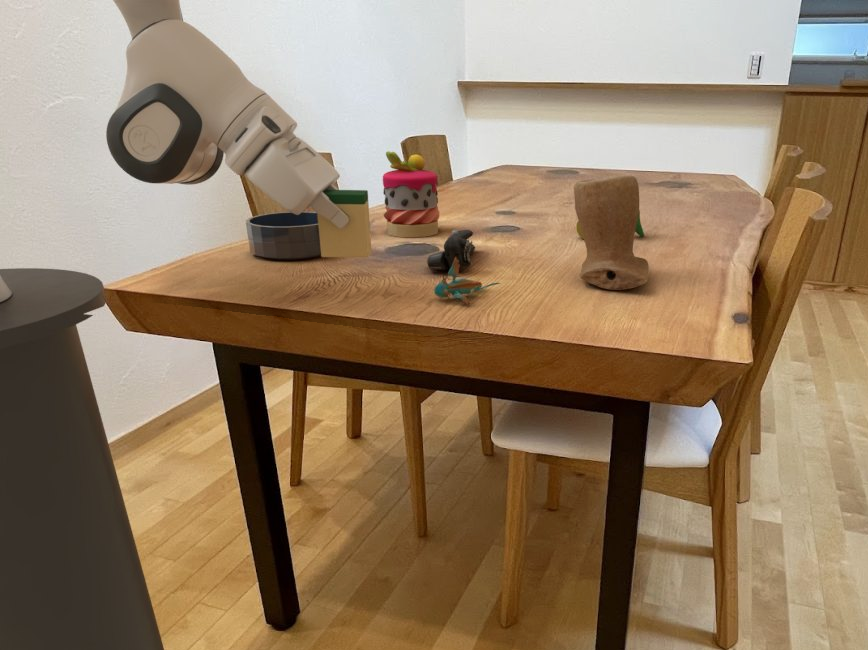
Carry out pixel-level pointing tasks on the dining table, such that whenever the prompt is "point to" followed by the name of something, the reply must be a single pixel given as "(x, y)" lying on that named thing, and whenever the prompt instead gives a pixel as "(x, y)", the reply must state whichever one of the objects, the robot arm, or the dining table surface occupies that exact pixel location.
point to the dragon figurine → (457, 285)
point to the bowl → (284, 235)
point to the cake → (410, 198)
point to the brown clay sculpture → (610, 232)
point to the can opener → (453, 251)
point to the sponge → (346, 226)
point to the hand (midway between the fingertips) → (349, 220)
